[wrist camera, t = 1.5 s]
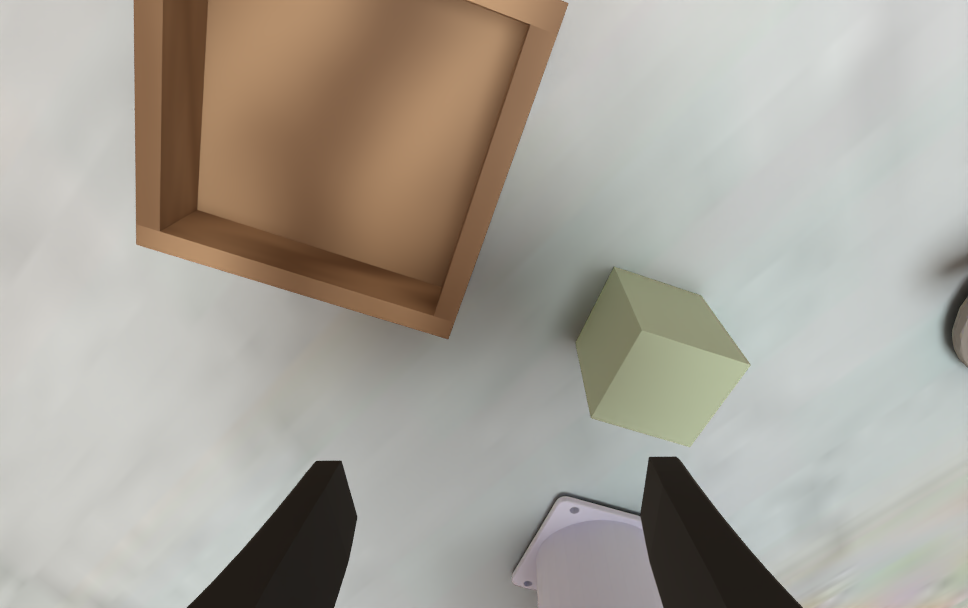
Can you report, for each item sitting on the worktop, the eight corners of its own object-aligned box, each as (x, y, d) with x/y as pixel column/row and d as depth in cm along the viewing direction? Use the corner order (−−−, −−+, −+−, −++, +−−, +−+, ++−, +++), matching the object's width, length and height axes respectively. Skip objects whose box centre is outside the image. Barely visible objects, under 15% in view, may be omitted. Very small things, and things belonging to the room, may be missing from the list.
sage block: (700, 295, 21) (750, 364, 17) (655, 367, 23) (689, 447, 19) (614, 266, 21) (642, 330, 16) (575, 342, 23) (590, 418, 18)
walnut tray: (558, 7, 16) (568, 3, 14) (455, 301, 22) (448, 339, 19) (198, -135, 15) (131, -170, 12) (184, 216, 20) (136, 244, 18)
